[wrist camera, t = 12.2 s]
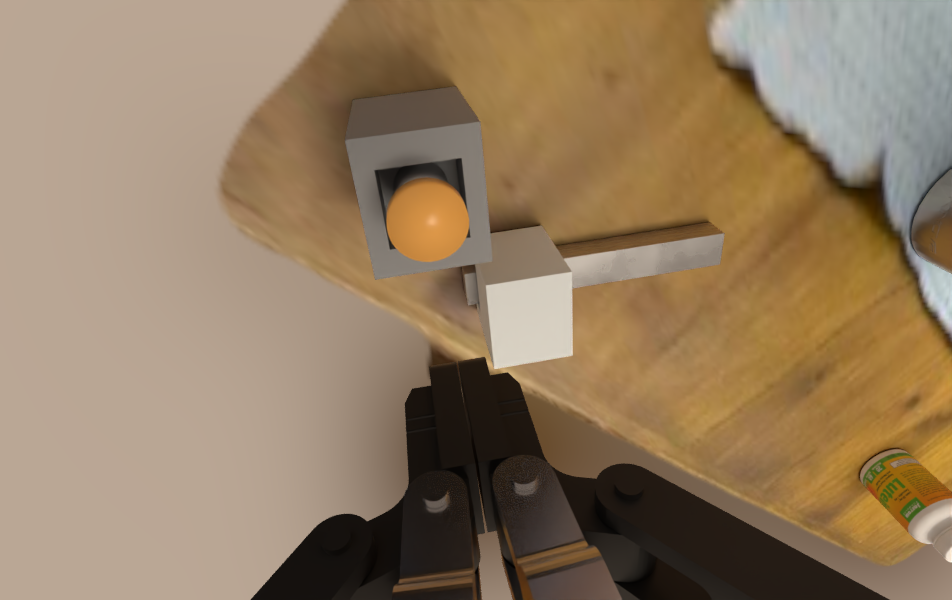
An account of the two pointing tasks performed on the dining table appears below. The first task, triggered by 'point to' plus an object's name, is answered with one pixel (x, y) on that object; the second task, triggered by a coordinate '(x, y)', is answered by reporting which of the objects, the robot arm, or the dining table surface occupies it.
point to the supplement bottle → (912, 497)
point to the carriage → (525, 299)
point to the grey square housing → (409, 143)
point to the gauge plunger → (426, 214)
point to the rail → (630, 256)
